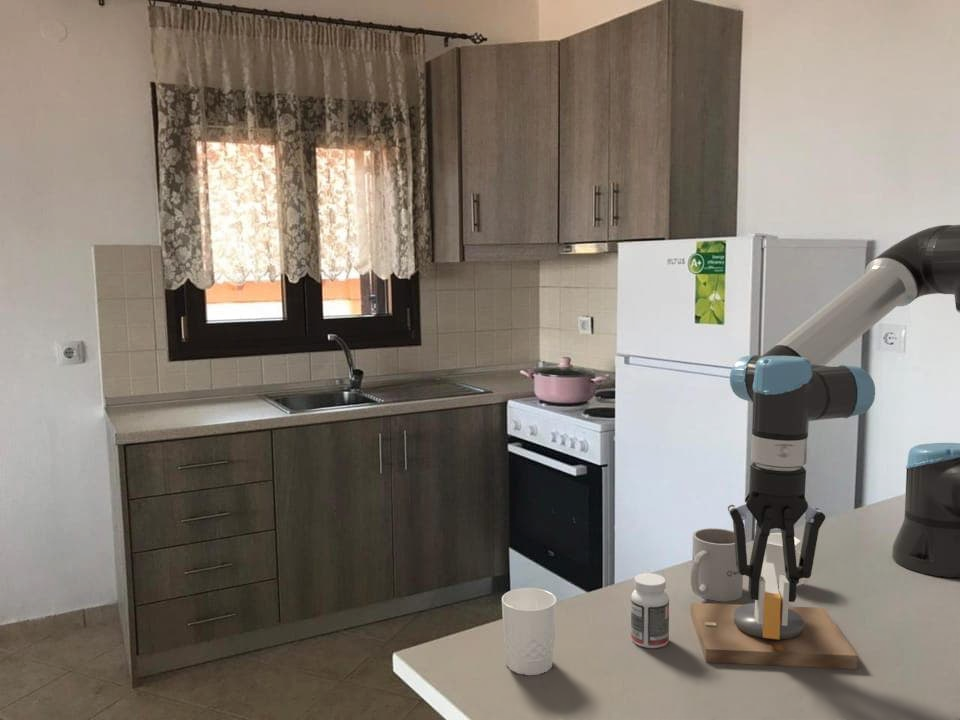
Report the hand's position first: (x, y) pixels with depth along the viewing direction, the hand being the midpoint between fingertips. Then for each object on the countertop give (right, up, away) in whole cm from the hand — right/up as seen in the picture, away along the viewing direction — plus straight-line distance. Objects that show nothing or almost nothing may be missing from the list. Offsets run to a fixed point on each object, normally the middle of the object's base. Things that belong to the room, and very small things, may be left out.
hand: (770, 620), depth 118 cm
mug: (-2, -3, +23) cm, 24 cm away
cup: (+12, -2, +27) cm, 29 cm away
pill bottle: (-16, -5, +6) cm, 18 cm away
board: (+2, -5, +6) cm, 8 cm away
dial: (+2, -2, +6) cm, 6 cm away
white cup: (-35, -6, -1) cm, 36 cm away
